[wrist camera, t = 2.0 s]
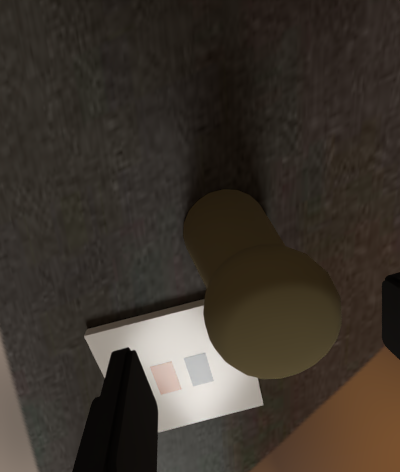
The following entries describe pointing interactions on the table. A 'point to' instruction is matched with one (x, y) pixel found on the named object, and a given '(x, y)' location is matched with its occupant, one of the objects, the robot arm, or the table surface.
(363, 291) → the table surface
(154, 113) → the table surface
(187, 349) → the tile
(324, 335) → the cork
